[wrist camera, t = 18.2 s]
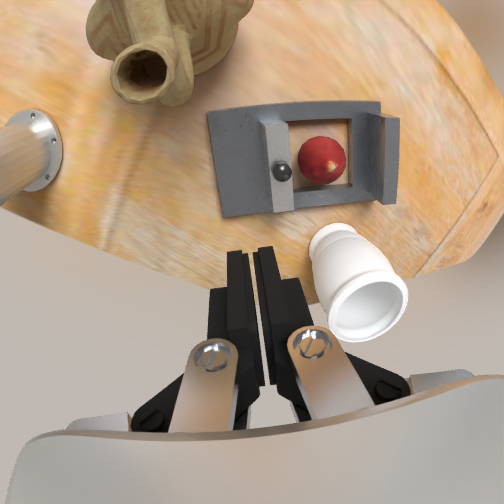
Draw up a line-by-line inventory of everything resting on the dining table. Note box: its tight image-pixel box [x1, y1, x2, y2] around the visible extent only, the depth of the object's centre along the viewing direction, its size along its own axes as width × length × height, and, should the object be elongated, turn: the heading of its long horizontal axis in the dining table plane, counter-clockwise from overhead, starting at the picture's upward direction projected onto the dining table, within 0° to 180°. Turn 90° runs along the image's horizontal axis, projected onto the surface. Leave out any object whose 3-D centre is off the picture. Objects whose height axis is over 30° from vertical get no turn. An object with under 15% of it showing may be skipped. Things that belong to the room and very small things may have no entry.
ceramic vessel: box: [86, 0, 254, 107], centre depth 17 cm, size 17×20×25 cm
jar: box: [309, 223, 408, 342], centre depth 39 cm, size 11×10×15 cm
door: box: [261, 120, 294, 213], centre depth 34 cm, size 2×10×6 cm, turn 6°
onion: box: [298, 136, 346, 184], centre depth 34 cm, size 6×6×8 cm
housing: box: [207, 101, 400, 218], centre depth 35 cm, size 22×14×6 cm, turn 96°
